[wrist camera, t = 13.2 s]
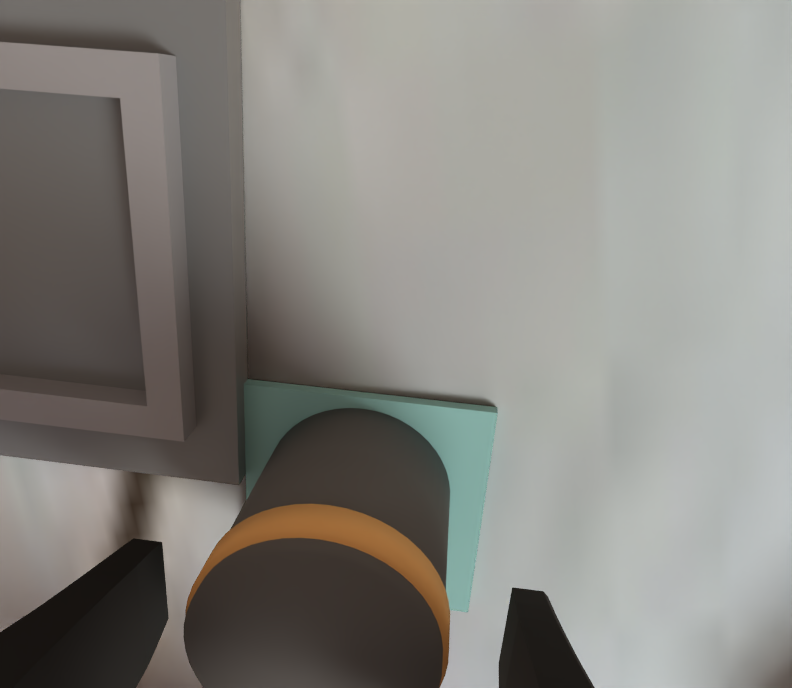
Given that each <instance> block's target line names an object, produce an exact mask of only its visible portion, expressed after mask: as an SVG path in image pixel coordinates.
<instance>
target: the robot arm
mask: <svg viewBox="0 0 792 688" xmlns="http://www.w3.org/2000/svg"><path fill="white" fill-rule="evenodd" d="M167 620H168V607H167V595H166V583H165V572H164V560H163V548H162V542H156V541H148V540H141V539H132V540H131V541H130V542H128V543H127V544H125V545H124V546H123V547H121V548H120V549H118V550H117V551H116V552H114V553H113V554H112V555H110V556H109V557H107V558H106V559H105V560H103V561H102V562H101V563H99V564H98V565H97V566H95V567H94V568H93V569H91V570H90V571H88V572H87V573H86V574H84V575H83V576H82V577H80V578H79V579H78V580H76V581H75V582H73V583H72V584H71V585H69V586H68V587H66V588H65V589H64V590H62V591H61V592H59V593H58V594H57V595H55V596H54V597H52V598H51V599H50V600H48V601H47V602H45V603H44V604H42V605H41V606H40V607H38V608H37V609H35V610H34V611H32V612H31V613H29V614H27V615H26V616H24V617H23V618H21V619H20V620H18V621H17V622H15V623H14V624H12V625H11V626H9V627H8V628H6V629H5V630H3V631H2V632H0V688H136V686H137V685H138V683H139V681H140V679H141V678H142V676H143V674H144V672H145V670H146V669H147V667H148V664H149V662H150V660H151V658H152V656H153V653H154V651H155V649H156V647H157V644H158V642H159V640H160V637H161V635H162V632H163V630H164V628H165V625H166V623H167ZM499 688H594V686H593V684H592V682H591V681H590V679H589V677H588V675H587V674H586V672H585V670H584V669H583V667H582V665H581V663H580V661H579V659H578V658H577V656H576V654H575V652H574V650H573V648H572V646H571V644H570V642H569V640H568V638H567V637H566V635H565V633H564V631H563V629H562V627H561V624H560V622H559V620H558V618H557V616H556V614H555V612H554V610H553V607H552V605H551V603H550V601H549V598H548V596H547V595H546V594H545V593H544V592H543V591H535V590H528V589H520V588H512V593H511V598H510V604H509V610H508V615H507V621H506V626H505V632H504V637H503V643H502V648H501V654H500V660H499Z"/></svg>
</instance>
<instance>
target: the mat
mask: <svg viewBox="0 0 792 688" xmlns="http://www.w3.org/2000/svg"><path fill="white" fill-rule="evenodd" d="M340 408H360V409H368V410H373V411H377V412H381V413H384V414H387V415H390V416H392V417H394V418H397V419H399V420H401V421H403V422H404V423H406V424H408V425H409V426H411V427H412V428H414V429H415V430H416V431H418V432H419V433H420V434H421V435H422V436H423V437H424V438H425V439H426V440H427V441H428V442H429V443H430V444H431V445H432V446H433V448H434V449H435V450H436V452H437V453H438V455H439V457H440V458H441V460H442V462H443V464H444V467H445V469H446V471H447V475H448V479H449V485H450V508H449V530H448V552H447V574H446V593H447V597H448V601H449V609H450V610H454V611H462V612H468V608H469V602H470V595H471V588H472V582H473V575H474V568H475V561H476V555H477V548H478V541H479V535H480V528H481V521H482V514H483V508H484V501H485V494H486V488H487V481H488V474H489V467H490V461H491V454H492V447H493V441H494V434H495V427H496V420H497V414H498V412H497V407H492V406H483V405H474V404H465V403H456V402H447V401H438V400H429V399H420V398H412V397H403V396H394V395H385V394H376V393H367V392H358V391H349V390H341V389H332V388H323V387H314V386H305V385H296V384H287V383H278V382H269V381H261V380H252V379H248V380H247V381H246V382H245V383H244V418H245V462H246V500H247V498H248V497H249V495H250V493H251V491H252V489H253V488H254V486H255V484H256V482H257V480H258V478H259V477H260V475H261V473H262V471H263V469H264V468H265V466H266V464H267V462H268V460H269V459H270V457H271V455H272V453H273V451H274V450H275V448H276V446H277V445H278V443H279V441H280V440H281V439H282V438H283V436H284V435H285V434H286V433H287V432H288V431H289V430H290V429H291V428H292V427H294V426H295V425H296V424H298V423H299V422H301V421H302V420H304V419H306V418H308V417H310V416H312V415H314V414H317V413H321V412H324V411H328V410H333V409H340Z"/></svg>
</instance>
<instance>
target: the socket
mask: <svg viewBox="0 0 792 688" xmlns="http://www.w3.org/2000/svg"><path fill="white" fill-rule="evenodd" d="M247 380H248V360H247V310H246V260H245V210H244V160H243V110H242V60H241V10H240V0H0V455H4V456H12V457H20V458H28V459H36V460H44V461H52V462H60V463H68V464H76V465H83V466H91V467H99V468H107V469H115V470H123V471H131V472H139V473H147V474H155V475H163V476H171V477H179V478H187V479H195V480H203V481H211V482H219V483H227V484H235V485H239V484H240V483H241V481H242V479H243V477H244V476H245V474H246V462H245V418H244V383H245V382H246V381H247Z"/></svg>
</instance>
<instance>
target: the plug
mask: <svg viewBox="0 0 792 688" xmlns="http://www.w3.org/2000/svg"><path fill="white" fill-rule="evenodd" d="M449 508H450V485H449V479H448V475H447V471H446V469H445V467H444V464H443V462H442V460H441V458H440V457H439V455H438V453H437V452H436V450H435V449H434V448H433V446H432V445H431V444H430V443H429V442H428V441H427V440H426V439H425V438H424V437H423V436H422V435H421V434H420V433H419V432H418V431H416V430H415V429H414V428H412V427H411V426H409V425H408V424H406V423H404V422H403V421H401V420H399V419H397V418H394V417H392V416H390V415H387V414H384V413H381V412H377V411H373V410H368V409H360V408H340V409H333V410H328V411H324V412H321V413H317V414H314V415H312V416H310V417H308V418H306V419H304V420H302V421H301V422H299V423H298V424H296V425H295V426H294V427H292V428H291V429H290V430H289V431H288V432H287V433H286V434H285V435H284V436H283V438H282V439H281V440H280V441H279V443H278V445H277V446H276V448H275V450H274V451H273V453H272V455H271V457H270V459H269V460H268V462H267V464H266V466H265V468H264V469H263V471H262V473H261V475H260V477H259V478H258V480H257V482H256V484H255V486H254V488H253V489H252V491H251V493H250V495H249V497H248V498H247V500H246V502H245V504H244V506H243V507H242V509H241V511H240V513H239V515H238V517H237V518H236V520H235V522H234V524H233V526H232V527H231V529H230V531H228V532H227V533H226V534H225V535H224V536H223V537H222V539H221V540H220V541H219V542H218V543H217V545H216V546H215V548H214V549H213V551H212V553H211V554H210V556H209V558H208V560H207V561H206V563H205V565H204V567H203V569H202V570H201V572H200V574H199V576H198V577H197V579H196V581H195V583H194V584H193V586H192V589H191V592H190V594H189V597H188V601H187V606H186V617H185V622H184V643H185V649H186V653H187V656H188V659H189V663H190V665H191V667H192V669H193V671H194V673H195V675H196V677H197V678H198V680H199V681H200V683H201V684H202V686H203V687H204V688H440V686H441V683H442V681H443V679H444V676H445V673H446V669H447V665H448V655H449V630H450V609H449V601H448V597H447V593H446V574H447V552H448V530H449Z"/></svg>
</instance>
